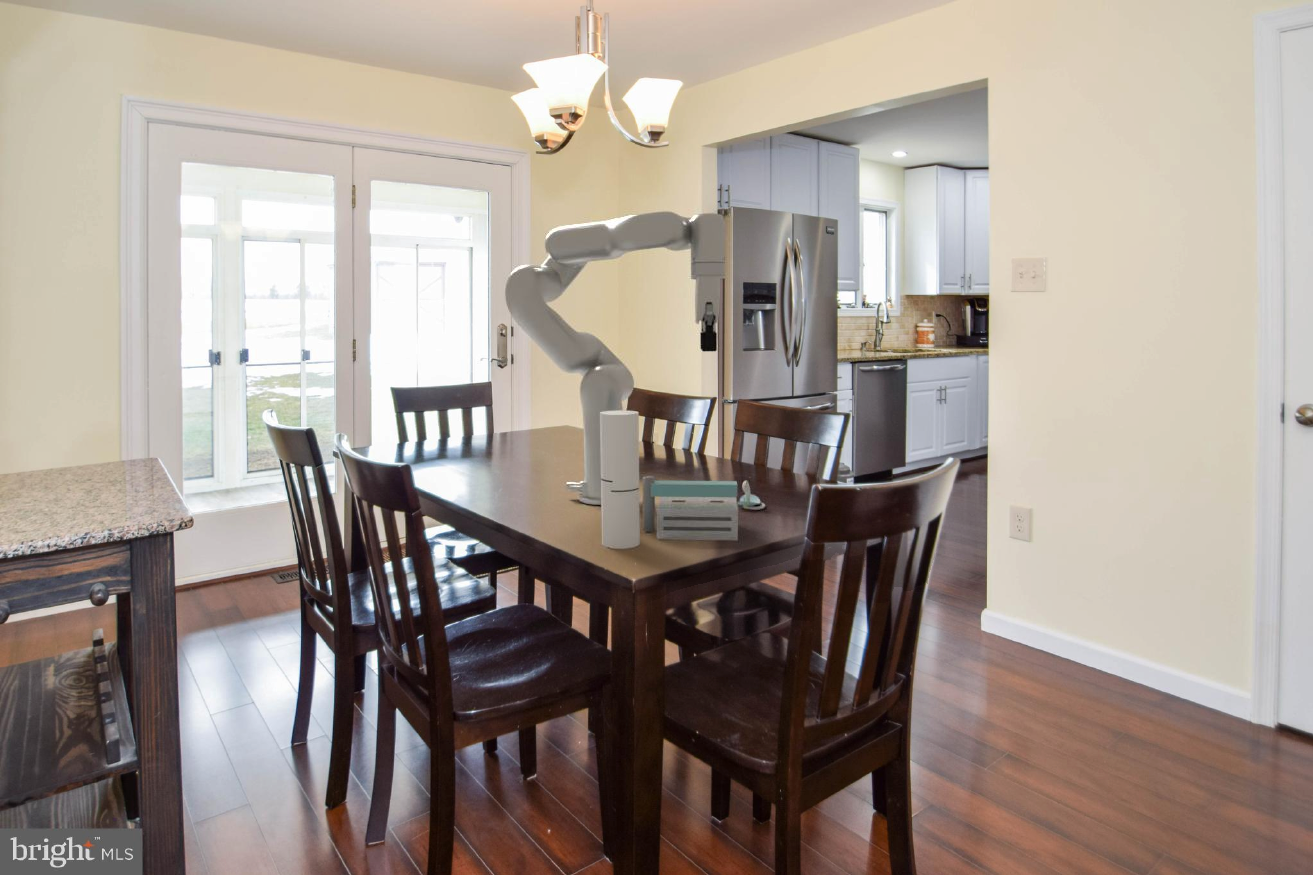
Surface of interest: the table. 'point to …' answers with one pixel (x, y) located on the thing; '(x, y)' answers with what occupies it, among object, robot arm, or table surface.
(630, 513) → the cylindrical container
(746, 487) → the pacifier
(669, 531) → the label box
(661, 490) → the swing bar
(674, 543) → the table surface
